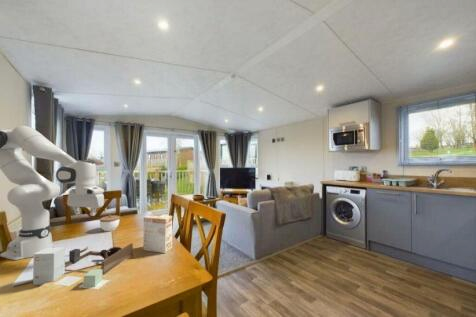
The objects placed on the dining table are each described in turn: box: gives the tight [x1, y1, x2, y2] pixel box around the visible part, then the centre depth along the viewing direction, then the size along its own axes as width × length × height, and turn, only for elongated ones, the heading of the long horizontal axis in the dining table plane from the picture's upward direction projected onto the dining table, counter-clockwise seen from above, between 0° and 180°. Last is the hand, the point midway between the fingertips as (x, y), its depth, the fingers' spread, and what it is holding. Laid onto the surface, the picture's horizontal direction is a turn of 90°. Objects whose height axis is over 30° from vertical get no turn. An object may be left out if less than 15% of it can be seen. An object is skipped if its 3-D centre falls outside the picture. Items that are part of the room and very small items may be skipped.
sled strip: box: [65, 243, 134, 276], centre depth 100 cm, size 27×19×7 cm
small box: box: [32, 246, 66, 286], centre depth 86 cm, size 8×6×13 cm
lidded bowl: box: [99, 214, 121, 232], centre depth 149 cm, size 13×13×11 cm
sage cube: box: [83, 268, 103, 287], centre depth 82 cm, size 4×4×4 cm
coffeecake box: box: [142, 213, 173, 254], centre depth 117 cm, size 15×7×20 cm, turn 74°
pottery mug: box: [99, 246, 122, 260], centre depth 102 cm, size 12×10×8 cm
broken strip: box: [52, 275, 110, 290], centre depth 83 cm, size 21×6×1 cm, turn 82°
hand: (84, 214), depth 108 cm, fingers open, 8 cm apart
